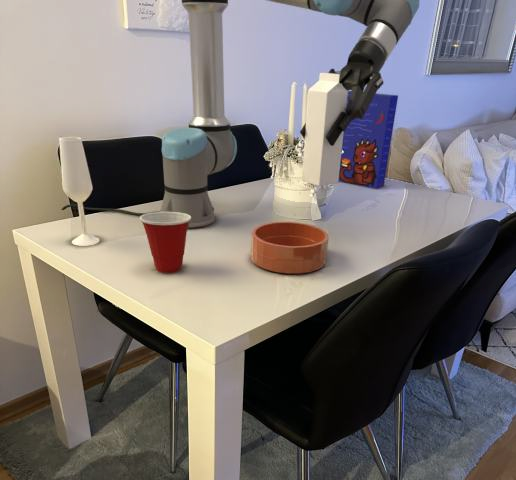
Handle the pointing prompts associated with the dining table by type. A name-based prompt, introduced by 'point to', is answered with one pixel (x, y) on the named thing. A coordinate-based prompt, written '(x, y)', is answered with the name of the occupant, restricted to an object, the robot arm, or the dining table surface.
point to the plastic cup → (166, 238)
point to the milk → (323, 130)
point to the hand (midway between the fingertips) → (316, 138)
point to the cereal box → (368, 143)
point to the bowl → (289, 247)
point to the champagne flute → (76, 181)
